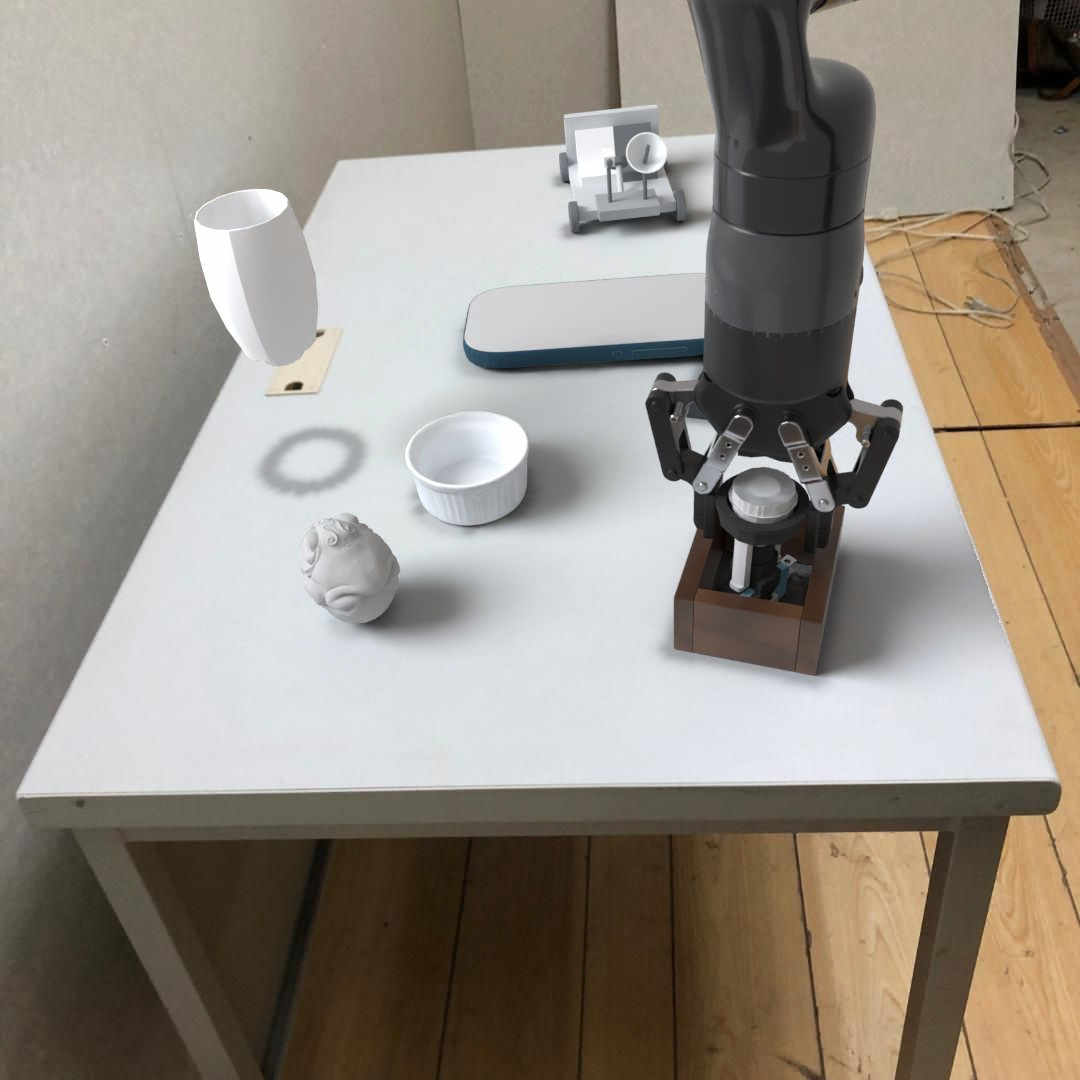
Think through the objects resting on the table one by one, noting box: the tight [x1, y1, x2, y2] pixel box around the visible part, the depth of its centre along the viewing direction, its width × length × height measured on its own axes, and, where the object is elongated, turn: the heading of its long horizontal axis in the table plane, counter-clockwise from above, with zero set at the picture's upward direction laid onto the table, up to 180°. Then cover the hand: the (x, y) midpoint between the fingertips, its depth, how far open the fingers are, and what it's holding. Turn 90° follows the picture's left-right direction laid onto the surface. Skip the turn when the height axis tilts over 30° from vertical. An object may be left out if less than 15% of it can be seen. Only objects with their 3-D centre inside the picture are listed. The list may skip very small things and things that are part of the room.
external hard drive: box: [462, 272, 706, 369], centre depth 92 cm, size 24×12×2 cm, turn 88°
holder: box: [673, 505, 846, 676], centre depth 66 cm, size 9×11×4 cm
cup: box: [193, 188, 319, 367], centre depth 76 cm, size 7×7×21 cm
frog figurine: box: [298, 512, 401, 624], centre depth 68 cm, size 6×7×7 cm
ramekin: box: [404, 410, 530, 526], centre depth 77 cm, size 9×9×4 cm
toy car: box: [558, 103, 687, 233], centre depth 108 cm, size 18×10×12 cm
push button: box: [714, 466, 810, 602], centre depth 65 cm, size 7×5×10 cm
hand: (761, 537), depth 64 cm, fingers closed on push button, 5 cm apart
